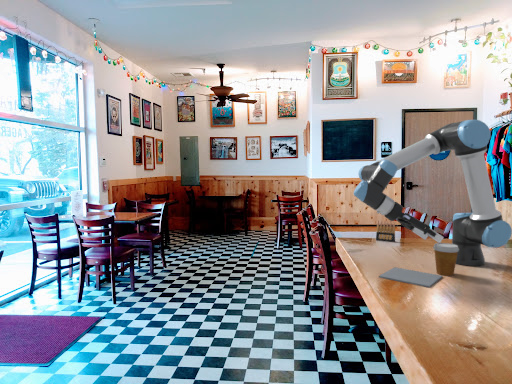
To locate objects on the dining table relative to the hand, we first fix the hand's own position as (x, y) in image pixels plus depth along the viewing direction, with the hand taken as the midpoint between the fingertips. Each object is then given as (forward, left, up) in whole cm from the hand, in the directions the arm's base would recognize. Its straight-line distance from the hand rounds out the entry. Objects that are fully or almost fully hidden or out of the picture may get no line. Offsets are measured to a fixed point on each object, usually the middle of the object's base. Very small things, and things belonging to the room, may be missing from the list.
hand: (433, 238), depth 149 cm
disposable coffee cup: (-6, +3, -15) cm, 17 cm away
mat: (+8, -6, -15) cm, 18 cm away
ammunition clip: (-56, -42, -15) cm, 72 cm away
